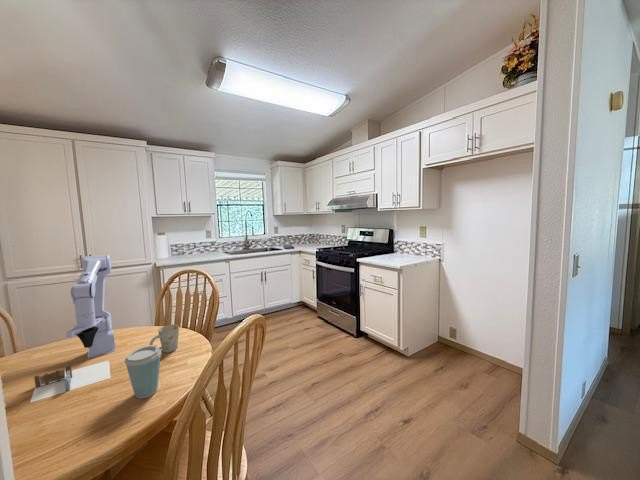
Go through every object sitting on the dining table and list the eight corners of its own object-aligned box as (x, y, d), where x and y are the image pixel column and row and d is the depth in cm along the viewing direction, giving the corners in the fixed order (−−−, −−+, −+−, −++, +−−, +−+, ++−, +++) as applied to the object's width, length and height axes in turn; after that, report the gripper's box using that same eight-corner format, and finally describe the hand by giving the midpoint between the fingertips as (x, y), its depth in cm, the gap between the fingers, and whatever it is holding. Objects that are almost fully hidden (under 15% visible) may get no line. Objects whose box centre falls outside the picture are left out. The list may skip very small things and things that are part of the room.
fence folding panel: (70, 389, 95) (69, 379, 94) (65, 390, 94) (64, 381, 94) (71, 377, 102) (70, 368, 101) (66, 378, 101) (66, 369, 101)
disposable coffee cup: (137, 407, 87) (134, 362, 85) (120, 396, 92) (117, 354, 91) (169, 388, 96) (167, 348, 95) (152, 379, 101) (150, 341, 100)
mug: (184, 347, 126) (182, 327, 125) (155, 360, 115) (154, 337, 114) (174, 343, 130) (172, 323, 129) (145, 354, 120) (144, 332, 119)
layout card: (109, 361, 114) (108, 360, 114) (110, 378, 102) (110, 377, 102) (37, 380, 101) (37, 379, 101) (30, 403, 89) (30, 402, 89)
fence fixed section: (72, 376, 103) (71, 365, 103) (72, 378, 102) (71, 367, 102) (35, 386, 97) (34, 375, 97) (35, 388, 96) (33, 377, 96)
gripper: (91, 307, 113) (94, 338, 115) (57, 320, 99) (60, 356, 100) (107, 307, 113) (110, 338, 115) (75, 321, 99) (79, 356, 100)
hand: (88, 346), depth 107 cm, fingers closed
